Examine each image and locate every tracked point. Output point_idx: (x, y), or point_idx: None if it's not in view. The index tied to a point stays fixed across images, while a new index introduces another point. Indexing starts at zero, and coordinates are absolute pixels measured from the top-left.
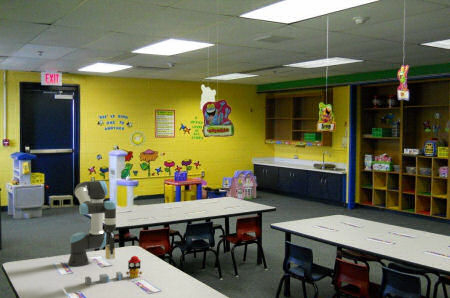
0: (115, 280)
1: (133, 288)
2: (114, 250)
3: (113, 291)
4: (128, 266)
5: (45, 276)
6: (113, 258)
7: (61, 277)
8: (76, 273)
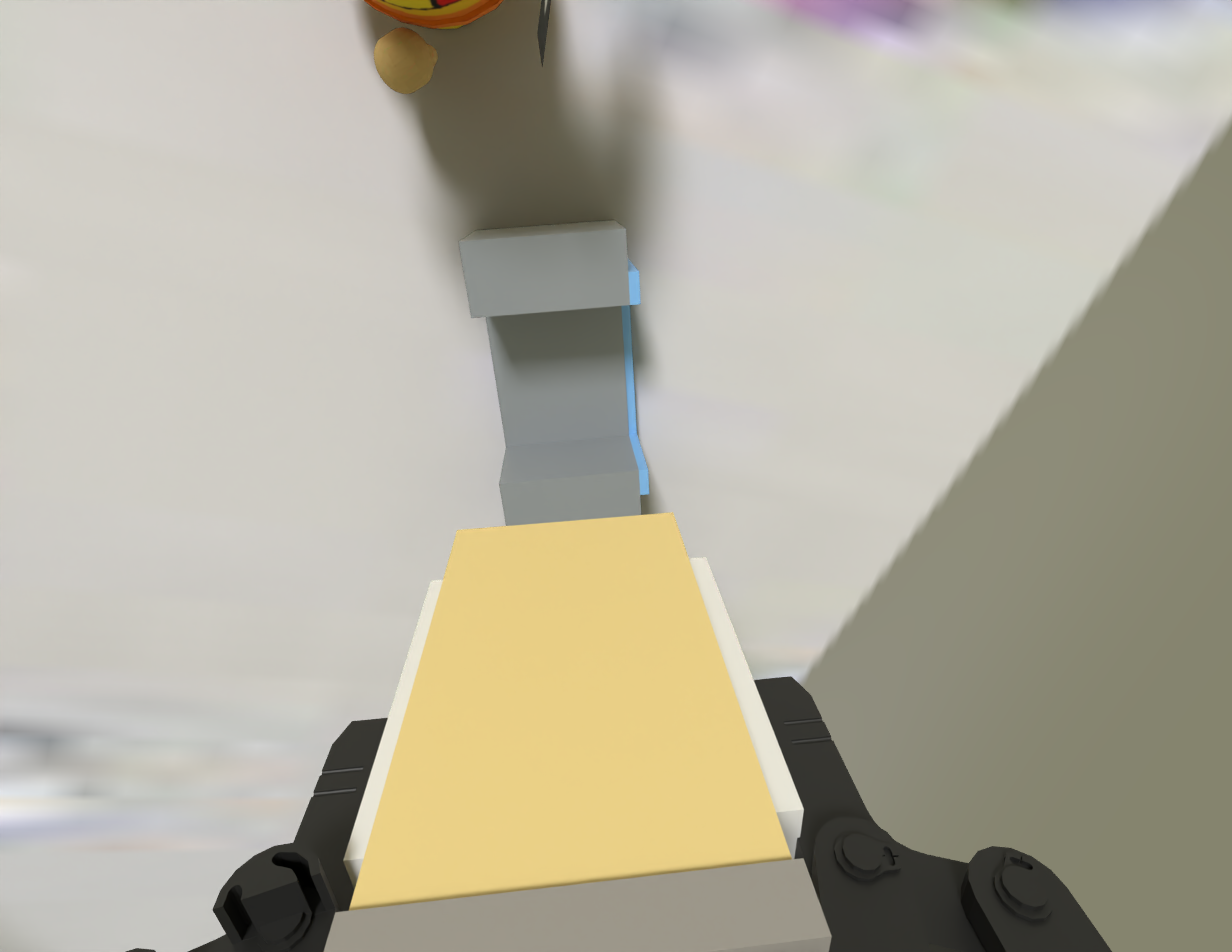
0: (605, 337)
1: (995, 145)
2: (731, 702)
3: (926, 424)
4: (541, 50)
5: (150, 914)
6: (705, 559)
7: (213, 817)
8: (74, 702)
